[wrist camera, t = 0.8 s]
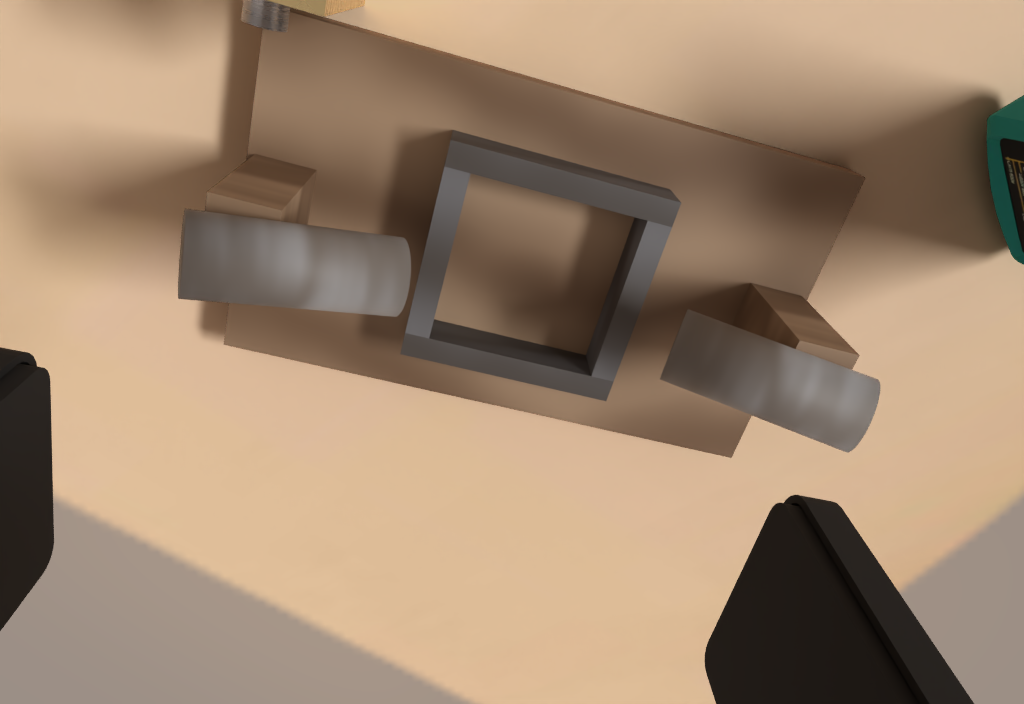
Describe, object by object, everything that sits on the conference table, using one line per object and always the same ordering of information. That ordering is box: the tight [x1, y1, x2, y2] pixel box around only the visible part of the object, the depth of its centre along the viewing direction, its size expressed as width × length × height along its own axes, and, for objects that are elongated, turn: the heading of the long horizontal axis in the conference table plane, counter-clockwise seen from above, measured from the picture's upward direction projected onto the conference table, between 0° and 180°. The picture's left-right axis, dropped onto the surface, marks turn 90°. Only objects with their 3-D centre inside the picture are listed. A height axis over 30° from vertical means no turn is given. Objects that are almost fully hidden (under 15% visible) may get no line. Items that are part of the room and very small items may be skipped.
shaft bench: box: [178, 8, 880, 458], centre depth 29 cm, size 14×24×10 cm, turn 75°
